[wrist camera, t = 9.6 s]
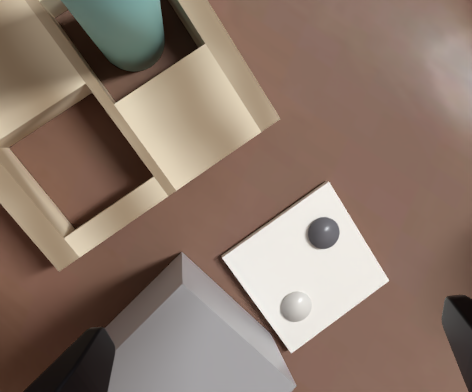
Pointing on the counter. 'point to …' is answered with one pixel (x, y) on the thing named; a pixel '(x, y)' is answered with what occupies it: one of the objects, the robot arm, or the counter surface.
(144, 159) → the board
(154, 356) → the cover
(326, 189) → the pattern tile
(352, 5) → the counter surface
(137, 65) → the pin
